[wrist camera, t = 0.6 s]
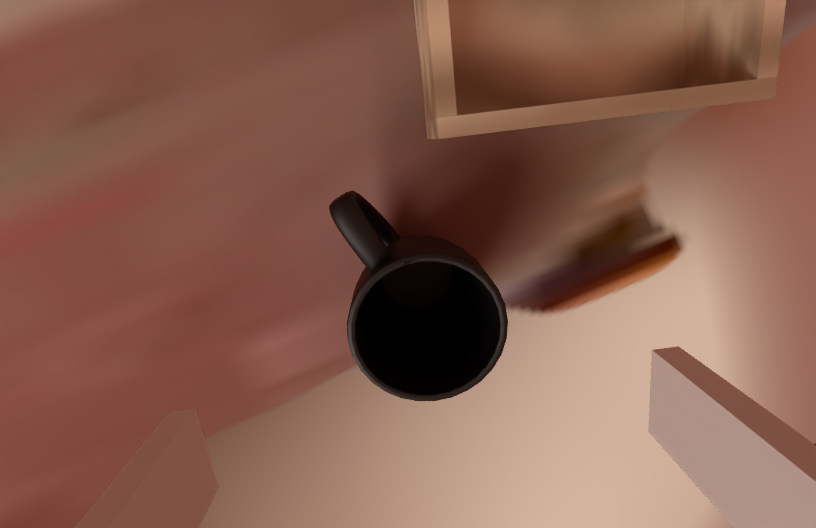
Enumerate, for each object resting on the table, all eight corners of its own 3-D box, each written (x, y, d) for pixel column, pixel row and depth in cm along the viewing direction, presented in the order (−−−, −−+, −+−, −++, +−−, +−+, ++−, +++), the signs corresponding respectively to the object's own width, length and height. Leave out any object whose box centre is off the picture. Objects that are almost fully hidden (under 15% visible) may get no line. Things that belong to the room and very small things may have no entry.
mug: (408, 146, 28) (416, 150, 19) (494, 291, 31) (536, 353, 22) (305, 212, 29) (266, 245, 20) (398, 347, 32) (402, 428, 23)
